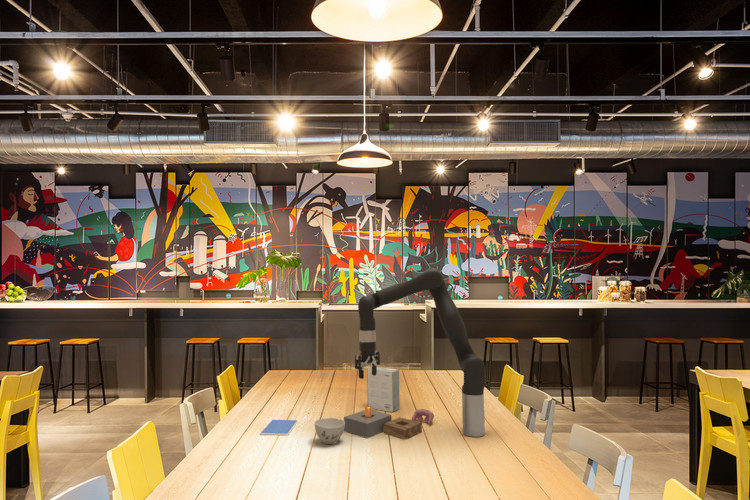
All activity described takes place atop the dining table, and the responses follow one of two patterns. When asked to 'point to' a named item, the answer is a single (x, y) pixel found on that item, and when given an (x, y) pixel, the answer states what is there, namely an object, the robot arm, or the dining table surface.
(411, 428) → the pin mount
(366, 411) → the pin
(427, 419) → the video game controller
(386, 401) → the hard drive box
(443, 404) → the dining table surface
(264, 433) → the blue book
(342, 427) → the teacup
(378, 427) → the dock socket
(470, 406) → the robot arm
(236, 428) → the dining table surface
